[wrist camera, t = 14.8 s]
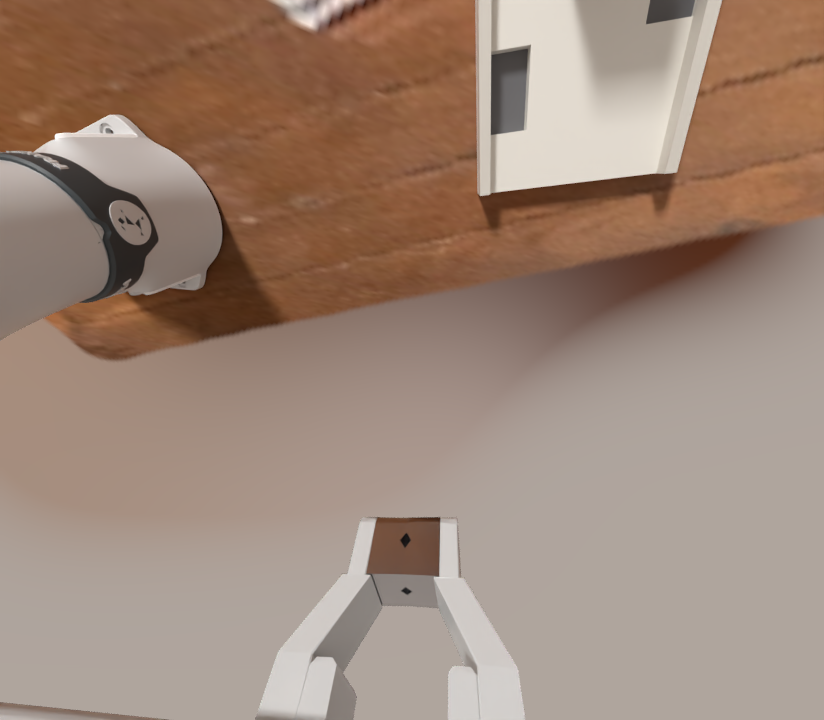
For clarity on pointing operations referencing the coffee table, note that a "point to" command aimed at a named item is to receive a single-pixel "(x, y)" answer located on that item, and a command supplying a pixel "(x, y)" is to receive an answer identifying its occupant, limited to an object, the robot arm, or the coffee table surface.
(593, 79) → the white rimmed tray
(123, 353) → the coffee table surface
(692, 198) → the coffee table surface
